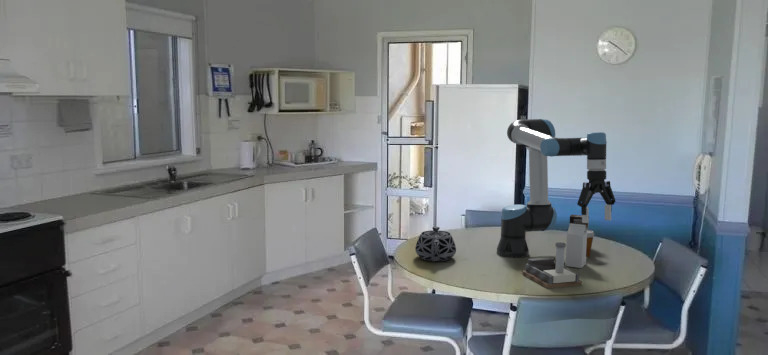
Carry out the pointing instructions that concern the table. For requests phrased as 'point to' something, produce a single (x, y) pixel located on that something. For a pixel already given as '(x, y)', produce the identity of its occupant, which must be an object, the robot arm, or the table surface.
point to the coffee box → (577, 220)
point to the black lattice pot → (435, 245)
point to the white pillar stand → (560, 267)
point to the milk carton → (576, 245)
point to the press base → (536, 273)
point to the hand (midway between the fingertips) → (596, 221)
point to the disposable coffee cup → (589, 242)
